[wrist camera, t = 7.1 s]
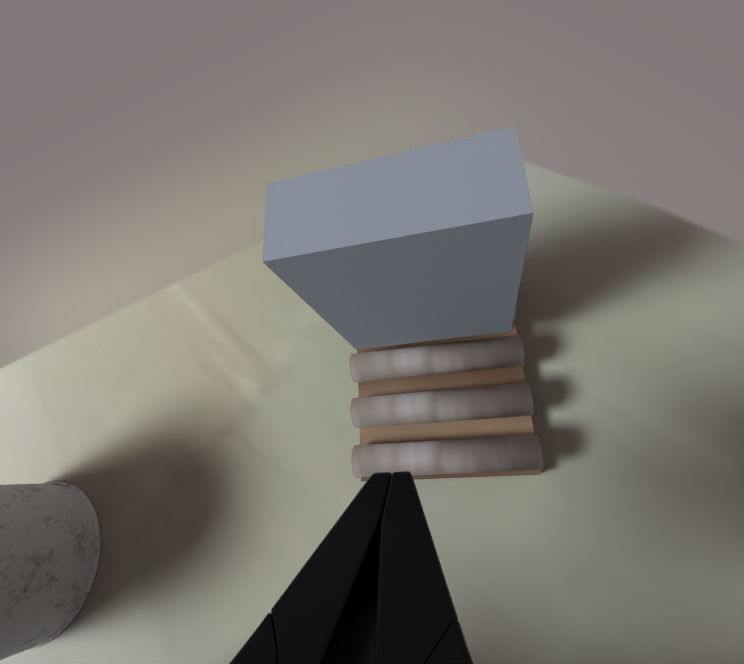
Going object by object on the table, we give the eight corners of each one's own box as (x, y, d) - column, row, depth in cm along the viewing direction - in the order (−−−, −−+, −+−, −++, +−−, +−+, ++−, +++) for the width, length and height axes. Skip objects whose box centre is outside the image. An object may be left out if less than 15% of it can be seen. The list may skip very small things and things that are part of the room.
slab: (510, 331, 20) (533, 212, 11) (356, 349, 22) (262, 261, 13) (501, 277, 21) (515, 126, 12) (355, 298, 23) (267, 183, 14)
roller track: (538, 474, 20) (554, 475, 16) (366, 480, 22) (335, 483, 18) (505, 277, 24) (510, 232, 19) (360, 299, 26) (333, 262, 21)
